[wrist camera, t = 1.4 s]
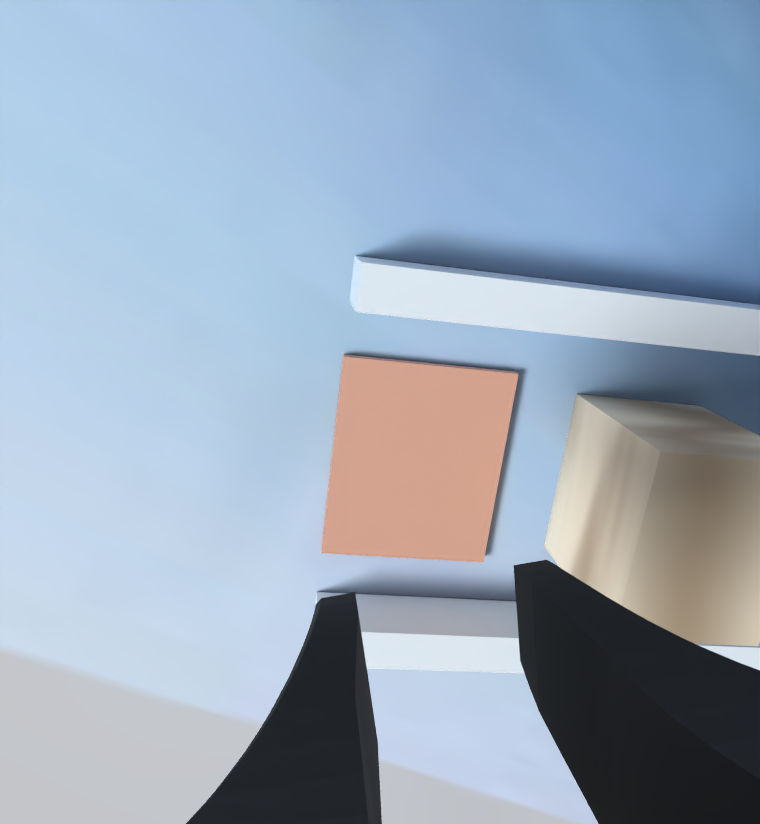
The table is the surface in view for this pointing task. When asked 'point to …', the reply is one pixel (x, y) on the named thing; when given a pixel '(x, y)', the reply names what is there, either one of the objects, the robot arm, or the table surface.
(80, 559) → the table surface
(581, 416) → the pale gold metal block
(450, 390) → the trap channel
